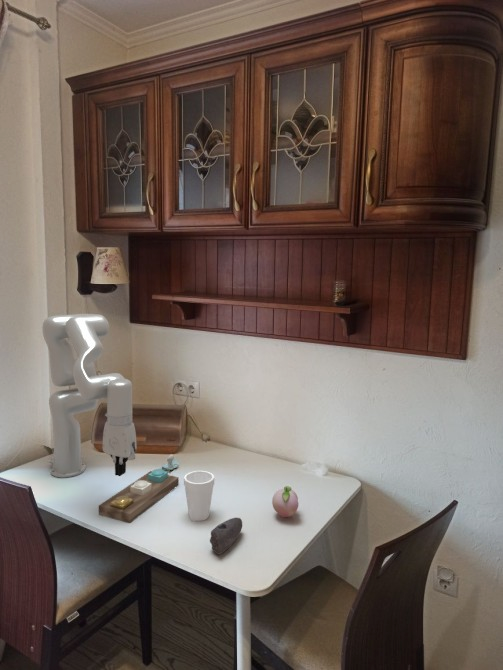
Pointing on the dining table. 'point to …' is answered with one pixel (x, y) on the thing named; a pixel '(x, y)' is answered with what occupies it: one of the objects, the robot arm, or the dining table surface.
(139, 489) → the cream button
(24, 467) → the dining table surface
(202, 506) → the foam cup
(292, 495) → the decorative fruit
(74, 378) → the robot arm
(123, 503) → the brass button
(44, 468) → the dining table surface
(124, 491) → the button panel
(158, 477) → the teal button
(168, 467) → the pacifier
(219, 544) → the perforated stone tool
